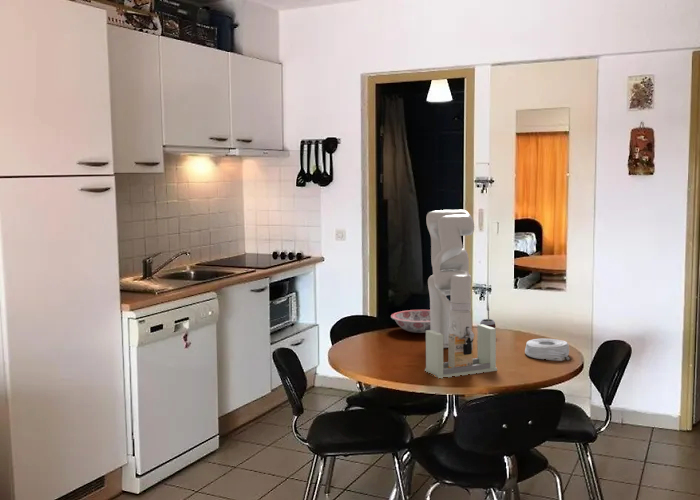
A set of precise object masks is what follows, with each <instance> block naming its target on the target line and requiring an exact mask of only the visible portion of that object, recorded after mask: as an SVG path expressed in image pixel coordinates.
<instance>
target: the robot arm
mask: <svg viewBox="0 0 700 500" xmlns="http://www.w3.org/2000/svg"><path fill="white" fill-rule="evenodd" d="M426 226H427V230H428V232H429V235H430V246H431V247H430V256H431V257H430V258H431V259H430V260H431V267H432V275H430V276H429V277H428V279H427V285H428V286H427V287H428V293H429V308H430V309H429V310H430V330H433V331H435V332H438V333H440V334H443V349H447V348H448V335H450V334H452V335H455V336H457V337H458V338H460V339H461V338H463V341H464V343H465V344H463V354H464V355H468V354H471V353H472V341H473V342H474V337H475V333H474V332H473V329H472V328H473V325H472V315H471V311H472V309H471V307H472V298H471V296H472V295H471V294H472V293H471V291H472V288H471V286H472V275H471V274H470V271H469V269H470V267H469V266H470V262H469V261H470V260H469V254H468V251H467V249H465V248H463V247H464V246H463V242H462V236H471V235H473V233H474V232H475V221H474V218H473V216H472V215H471V213H469V212H468V211H467V210H465V209H443V210H442V209H440V210H432V211H428V212H427V214H426ZM447 296H450V300H449V298H448V297H447ZM466 335H467V336H466ZM466 338H468V339H467V340H466Z"/></svg>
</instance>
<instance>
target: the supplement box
mask: <svg viewBox="0 0 700 500" xmlns="http://www.w3.org/2000/svg"><path fill="white" fill-rule="evenodd" d="M466 336H467V335H466ZM467 339H468V338H466V340H467ZM463 344H465V343H464V341H463V338H461V339H460V338H458V337H457V336H455V335H452V334H450V335H448V351H447V352H448V361H447V362H448V368H454V367H461V366H469V365H473V359H474V340H473V341H472V353H471V354H468V355H464V354H463Z"/></svg>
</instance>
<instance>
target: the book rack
mask: <svg viewBox="0 0 700 500" xmlns="http://www.w3.org/2000/svg"><path fill="white" fill-rule="evenodd" d="M476 326H477V327H476V328H477V329H476V330H477V333H476V334H477V342H476V343H477V345H476V346H477V347H476V348H477V357H475V358H474V357H473V365H469V366H461V367H454V368H448V361H444V348H443V334H440V333H438V332H435V331H433V330H426V333H425V368H424V372H425V371H426V372H425V373H427V372H428V373H427V374H429V373H431V374H433V375H435V376H436V377H435V376H434V377H435V378H437V377H438V378H437V379H439V378H441V379H444V378H443V377H448V378H453V377H452V376H455V377H461V376H460V375H462V376H469V375H468V374H470V375H476V373H477V374H483V372H484V373H490V372H496V371H498V367H497V365H496V364H497V363H496V362H497V359H496V358H497V357H496V356H497V353H496V352H497V350H496V349H497V348H496V347H497V346H496V345H497V343H496V342H497V338H496V336H497V335H496V334H497V333H496V331H497V328H496V327H495V328H493V327H490V326H487V325H484V324H480V323H479V324H477V325H476ZM431 374H430V375H431ZM433 375H432V376H433Z"/></svg>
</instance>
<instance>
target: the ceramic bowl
mask: <svg viewBox="0 0 700 500" xmlns="http://www.w3.org/2000/svg"><path fill="white" fill-rule="evenodd" d="M390 318H391V319H392V320H394V321H395V322H396V324H397V325H398V326H399V327H400V328H401V329H402V330H404V331H407V332H410V333H416V334H417V333H418V334H426V330H430V309H410V310H408V309H407V310H402V311H401V310H400V311H397V312H393V313H391V315H390Z"/></svg>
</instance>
